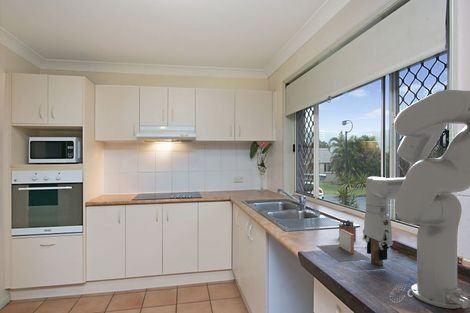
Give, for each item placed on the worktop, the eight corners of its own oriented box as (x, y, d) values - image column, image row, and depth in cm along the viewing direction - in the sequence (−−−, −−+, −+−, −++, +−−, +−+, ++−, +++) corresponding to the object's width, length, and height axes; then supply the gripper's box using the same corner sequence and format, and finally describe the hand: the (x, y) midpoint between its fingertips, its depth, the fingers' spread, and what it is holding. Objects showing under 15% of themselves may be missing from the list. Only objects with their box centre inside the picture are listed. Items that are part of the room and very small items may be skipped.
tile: (353, 253, 114) (353, 234, 114) (351, 253, 114) (351, 234, 114) (341, 246, 123) (341, 229, 123) (339, 246, 122) (339, 229, 122)
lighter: (356, 240, 133) (356, 220, 133) (355, 242, 130) (355, 222, 130) (339, 238, 137) (339, 218, 137) (338, 240, 134) (338, 220, 134)
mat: (371, 260, 107) (371, 259, 107) (339, 263, 105) (339, 261, 105) (343, 245, 126) (343, 244, 126) (316, 247, 124) (316, 245, 124)
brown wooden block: (385, 267, 101) (385, 232, 101) (375, 267, 100) (375, 233, 101) (377, 263, 105) (377, 229, 105) (368, 263, 104) (368, 230, 104)
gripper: (403, 213, 95) (403, 264, 95) (370, 205, 112) (370, 248, 112) (384, 214, 94) (384, 266, 94) (354, 205, 111) (354, 249, 111)
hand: (376, 256), depth 103 cm, fingers open, 5 cm apart
